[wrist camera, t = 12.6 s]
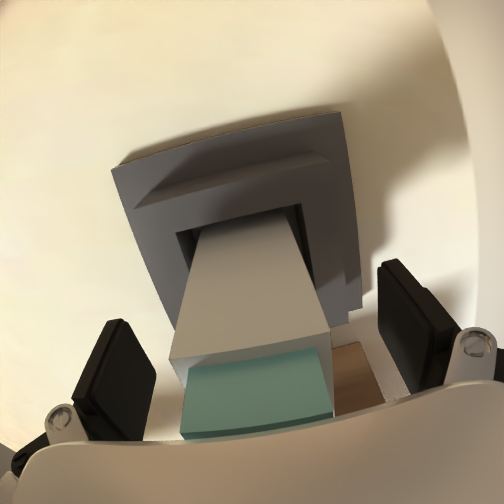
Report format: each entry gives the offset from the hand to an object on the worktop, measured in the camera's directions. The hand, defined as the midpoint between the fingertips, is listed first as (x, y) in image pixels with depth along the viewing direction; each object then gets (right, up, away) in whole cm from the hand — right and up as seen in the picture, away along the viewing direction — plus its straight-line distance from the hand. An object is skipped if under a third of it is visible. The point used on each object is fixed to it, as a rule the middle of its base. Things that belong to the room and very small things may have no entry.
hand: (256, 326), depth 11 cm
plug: (0, +3, +6) cm, 7 cm away
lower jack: (0, +3, +7) cm, 8 cm away
